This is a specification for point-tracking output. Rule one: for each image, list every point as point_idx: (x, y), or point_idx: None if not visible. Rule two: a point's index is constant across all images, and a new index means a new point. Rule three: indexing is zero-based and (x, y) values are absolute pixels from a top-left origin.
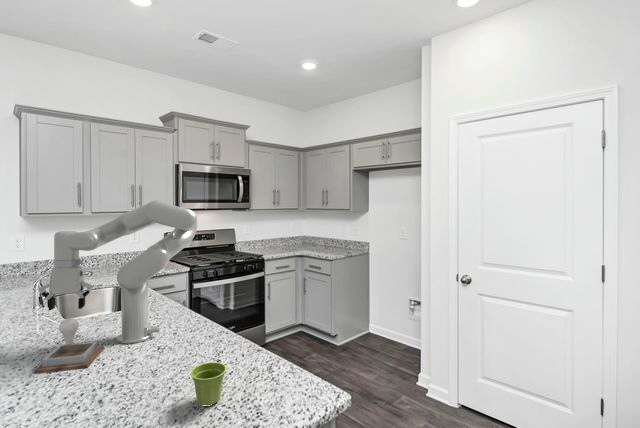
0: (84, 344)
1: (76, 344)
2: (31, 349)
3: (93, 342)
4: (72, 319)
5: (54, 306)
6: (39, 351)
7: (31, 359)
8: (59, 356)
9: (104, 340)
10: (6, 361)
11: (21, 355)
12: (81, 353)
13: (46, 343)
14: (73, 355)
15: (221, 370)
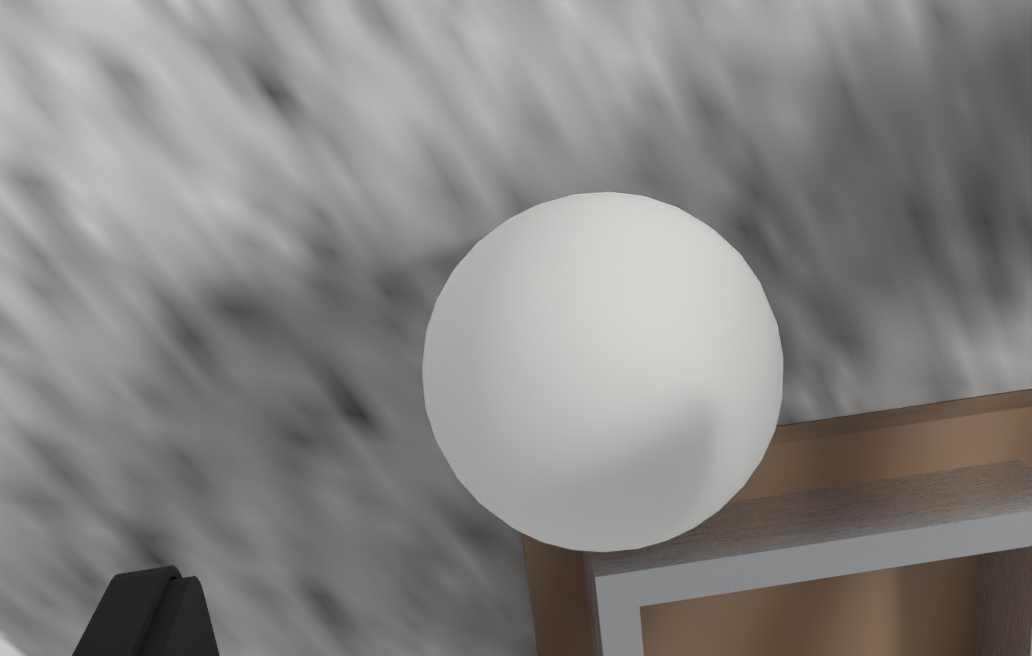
0: (915, 556)
1: (818, 575)
2: (24, 299)
3: (1026, 525)
4: (728, 455)
5: (189, 630)
6: (208, 381)
7: (290, 602)
8: (645, 646)
9: (965, 75)
10: (9, 631)
11: (52, 484)
12: (872, 589)
13: (80, 81)
14: (800, 631)
15: None
